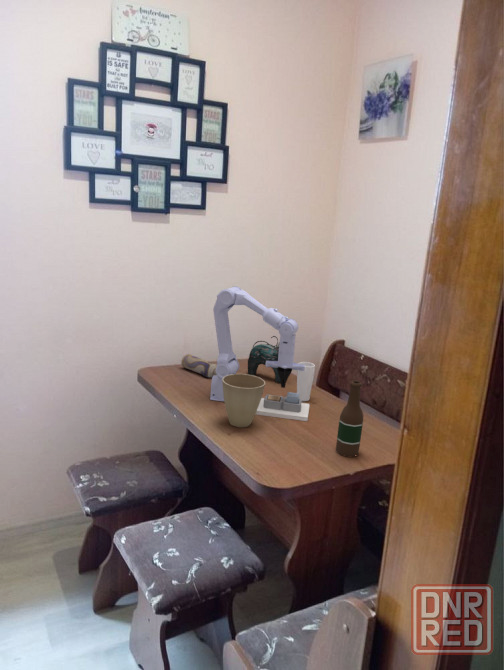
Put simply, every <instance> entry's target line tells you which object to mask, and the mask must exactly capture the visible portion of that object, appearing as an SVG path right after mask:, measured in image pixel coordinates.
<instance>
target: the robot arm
mask: <svg viewBox="0 0 504 670" xmlns="http://www.w3.org/2000/svg"><path fill="white" fill-rule="evenodd" d="M234 306H246V307H247V308H249V309H250V310H251V311H253V312H255V313H257V314H259V315H260V316H262V320H263V321H264V322H265V323H267V324H268V325H269V326H271V327H272V328H274V329H275V330H277V331H278V333H279V342H280V343H279V342H278V344H279V354H278V361H266V365H264V366H265V367H266V368H271V367H275V368H278V369H277V372H278V374H279V377H280V381H281V383H280V388H283V389H285V388H286V384H287V381H288V379H289V377H290V375H291V374H292V372H293V370H294V371H297V370H301V371H304V370H305V365H301V364H298V363H296V362H294V358H295V357H294V356H295V348H296V347H295V346H296V333H297V332H298V330H299V325H298V322H297V321H296V320H295V319H294V318H289V316H286V315H284V314H282V313H280V312H279V309H277V308H276V307H275V308H273V307H269V308H268V307H266V306H265V305H264V304H262V303H261V302H260V301H258V300H257V299H255V298H254V297H253V296H252V295H250V294H249V293H248V292H247V291H246V290H244V289H242V288H241V287H239V286H232V287H229V288H224V289H222V290H221V291H220V292H219V293H218V294H217V295H216V300H215V303H214V306H213V308H212V309H213V317H214V318H213V319H214V325H215V333H216V339H217V347H218V355H217V356H218V357H217V359H216V365H217V367H216V374H217V375H214V376H213V378H211V384H210V396H209V397H210V398H209V400H210V401H218V402H224V395H223V382H222V379H223V377H225V376H227V375H231V374H237V372H238V371H239V370H240V363H239V361H238V358H237V356H236V354H235V352H234V351H233V342H232V335H231V334H232V333H231V329H230V328H231V327H230V320H229V319H230V318H229V312H230V310H232V308H233V307H234ZM284 371H285V374H284Z"/></svg>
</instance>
